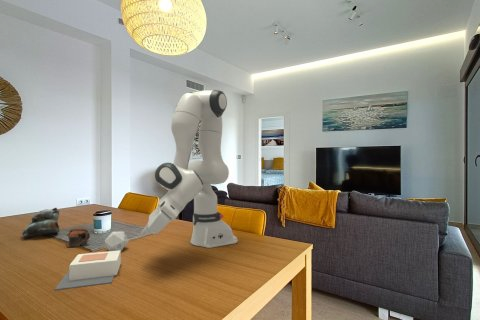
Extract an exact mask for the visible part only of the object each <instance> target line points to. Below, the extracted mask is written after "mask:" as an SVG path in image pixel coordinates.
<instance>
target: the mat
mask: <svg viewBox="0 0 480 320" xmlns="http://www.w3.org/2000/svg"><path fill="white" fill-rule="evenodd" d="M114 278H115V275H112V276H104V277H96V278H88V279H79V280H71V281H69V270H68V271H67V273H66V274H64V276H63V277H62V278H61V280H60V282H59V283H58V284H57V285H56V286H55V288H54V291H59V290H60V291H61V290H67V289H74V288H83V287H91V286H99V285H100V286H101V285H106V284H112V283H113V280H114Z"/></svg>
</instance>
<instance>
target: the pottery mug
mask: <svg viewBox="0 0 480 320" xmlns="http://www.w3.org/2000/svg"><path fill="white" fill-rule="evenodd" d="M66 237H67V238H68V241H67V242H66V243H65V247H66V248H71V247H72V248H79V247H80V245H85V244H86V243H87V242H88V241H89V239H90V237H91V234H90V233H89V231H88V229H85V228H73V229H70V230H69V231H68V234H66Z"/></svg>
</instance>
